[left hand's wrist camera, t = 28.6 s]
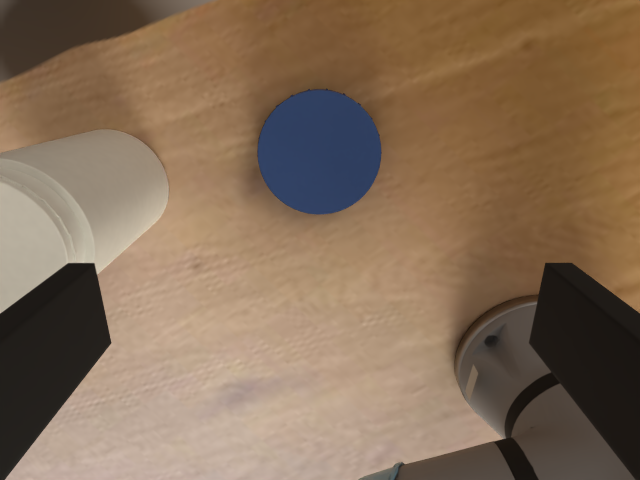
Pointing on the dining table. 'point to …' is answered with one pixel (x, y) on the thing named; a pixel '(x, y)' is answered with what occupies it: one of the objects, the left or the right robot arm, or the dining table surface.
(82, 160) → the jar
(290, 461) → the dining table surface
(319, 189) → the lid
